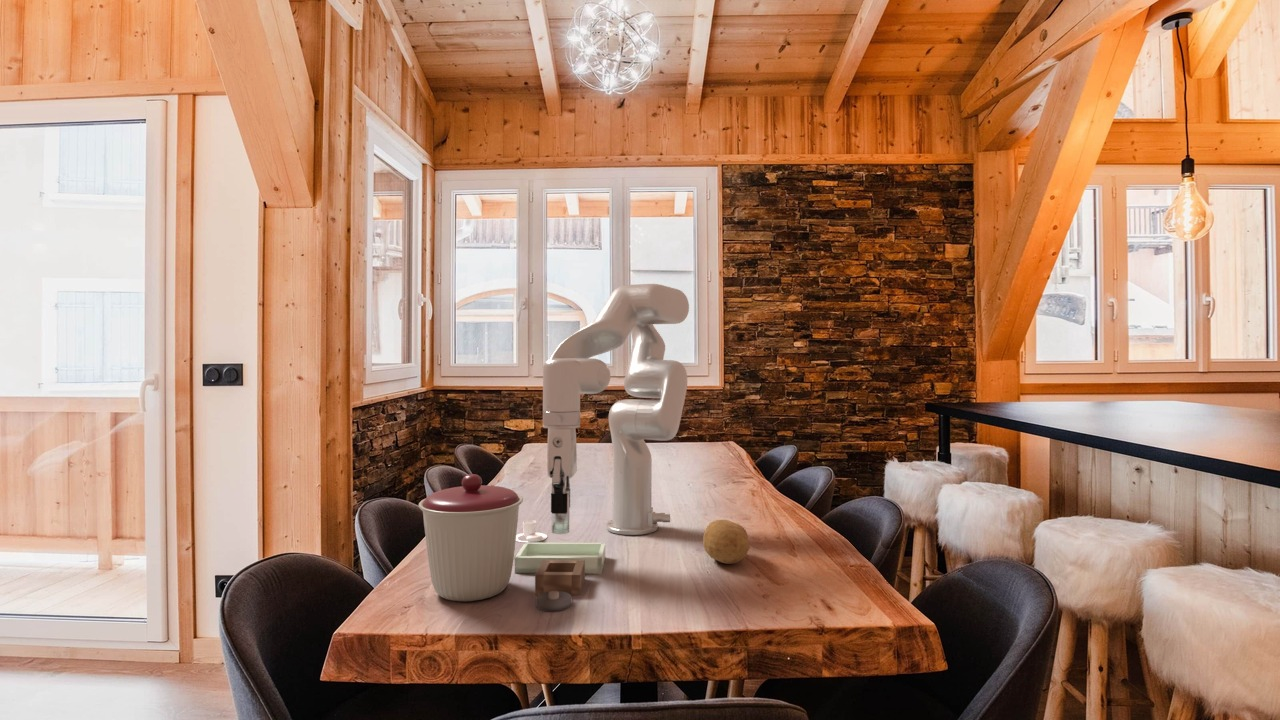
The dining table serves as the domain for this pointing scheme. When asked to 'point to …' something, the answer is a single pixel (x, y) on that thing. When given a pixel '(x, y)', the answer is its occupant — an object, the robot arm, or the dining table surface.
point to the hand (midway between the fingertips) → (560, 509)
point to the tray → (560, 555)
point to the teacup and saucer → (531, 532)
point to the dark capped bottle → (561, 519)
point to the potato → (726, 541)
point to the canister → (471, 539)
